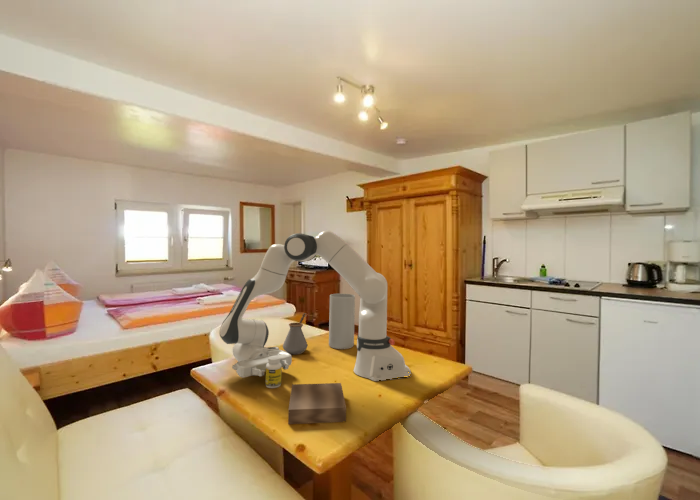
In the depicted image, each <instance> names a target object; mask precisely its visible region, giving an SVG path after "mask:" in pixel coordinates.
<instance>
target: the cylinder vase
mask: <svg viewBox="0 0 700 500" xmlns="http://www.w3.org/2000/svg"><path fill="white" fill-rule="evenodd" d="M355 307H356V295H355V294H351V293H333V294H332V293H331V294H330V295H329V313H328V314H329V319H328V320H329V322H328V325H329V326H328V346H329V347H330V348H332V349H335V350H348V349H351V348H353V347H354V345H355V314H356V313H355V312H356V309H355Z"/></svg>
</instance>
